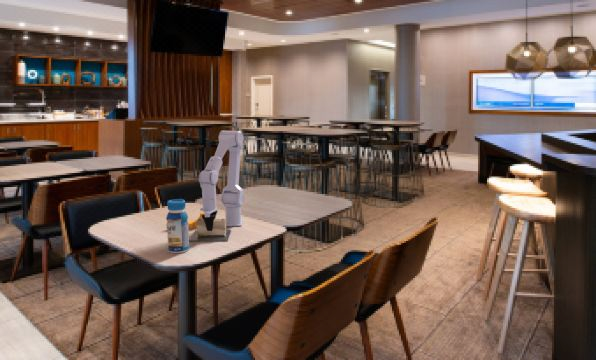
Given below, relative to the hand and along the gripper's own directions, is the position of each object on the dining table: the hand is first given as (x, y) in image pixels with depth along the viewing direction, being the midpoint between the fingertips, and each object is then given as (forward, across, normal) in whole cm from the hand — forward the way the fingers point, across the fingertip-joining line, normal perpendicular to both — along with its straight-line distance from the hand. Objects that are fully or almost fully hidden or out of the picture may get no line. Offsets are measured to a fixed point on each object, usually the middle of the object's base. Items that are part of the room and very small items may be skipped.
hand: (210, 229), depth 192 cm
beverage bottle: (+3, +17, -10) cm, 20 cm away
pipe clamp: (+4, -14, -11) cm, 18 cm away
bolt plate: (+3, 0, 0) cm, 3 cm away
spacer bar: (+2, 0, 0) cm, 2 cm away
